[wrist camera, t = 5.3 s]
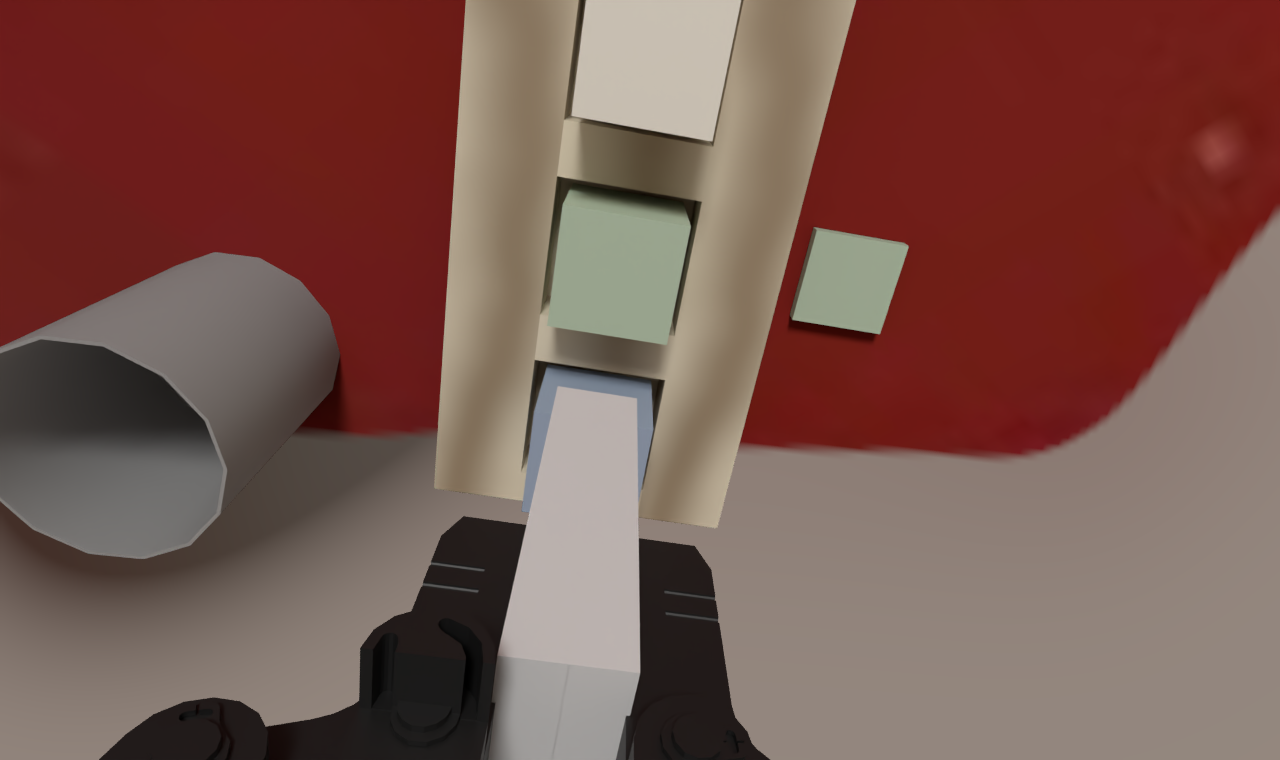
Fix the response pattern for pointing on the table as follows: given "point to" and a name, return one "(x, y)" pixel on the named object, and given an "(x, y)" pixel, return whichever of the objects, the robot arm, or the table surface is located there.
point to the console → (640, 164)
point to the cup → (159, 403)
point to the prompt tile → (848, 280)
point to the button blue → (589, 383)
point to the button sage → (618, 263)
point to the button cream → (655, 63)
